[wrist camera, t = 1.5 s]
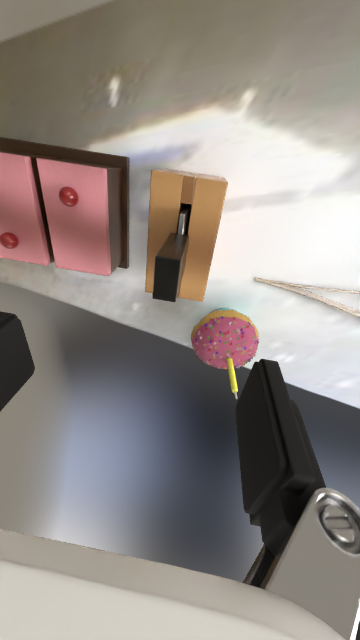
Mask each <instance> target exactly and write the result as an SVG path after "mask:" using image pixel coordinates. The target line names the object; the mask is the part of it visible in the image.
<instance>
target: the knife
mask: <svg viewBox="0 0 360 640" xmlns="http://www.w3.org/2000/svg"><path fill="white" fill-rule="evenodd" d="M191 207H192V204H187V205H186V206H185V208H184V209H183V211H182V212H181V214H180V218H179V227H178V234H176V233H170V235H169V236H168V238H167V239H166V241H165V242H164V244H163V245H162V247H161V249H160V250H159V252H158V253H157V255H156V256H155V268H154V283H153V299H159V300H165V301H170V302H175V301H176V298H177V295H178V291H179V288H180V284H181V281H182V277H183V274H184V270H185V264H186V257H187V250H188V243H189V236H188V229H189V222H190V215H191Z"/></svg>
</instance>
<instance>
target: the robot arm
mask: <svg viewBox="0 0 360 640" xmlns="http://www.w3.org/2000/svg"><path fill="white" fill-rule="evenodd" d="M34 370H35V367H34V363H33V360H32V356H31V353H30V350H29V347H28V343H27V340H26V337H25V333H24V330H23V327H22V324H21V321H20V320H19V319H18V317H17V316H16V315H15V314H11V313H5V312H0V411H1V410H2V409H3V408H4V407H5V405H6V404H7V403H8V402H9V401H10V400H11V398H12V397H13V396H14V395H15V394H16V393H17V392H18V391H19V390H20V388H21V387H22V386H23V385H24V384H25V383H26V382H27V380H28V379H29V378H30V377H31V376H32V375H33V373H34ZM236 423H237V436H238V446H239V459H240V470H241V482H242V493H243V504H244V510H245V512H246V513H248V514H249V515H250V524H251V525H256V526H261V534H262V541H263V542H264V545H263V547H262V549H261V550H260V552H259V554H258V556H257V557H256V559H255V561H254V563H253V564H252V566H251V568H250V570H249V571H248V573H247V575H246V577H245V579H244V580H243V582H242V583H241V582H237V581H234V580H231V579H227V578H223V577H218V576H214V575H210V574H205V573H202V572H197V571H193V570H189V569H184V568H180V567H177V566H172V565H168V564H163V563H159V562H154V561H149V560H145V559H140V558H135V557H131V556H126V555H121V554H117V553H112V552H107V551H103V550H99V549H94V548H89V547H84V546H79V545H75V544H71V543H66V542H61V541H56V540H51V539H46V538H42V537H37V536H33V535H28V534H23V533H19V532H14V531H9V530H4V529H0V640H360V509H359V508H358V507H357V506H356V505H355V504H354V503H353V502H352V501H351V500H350V499H349V498H348V497H346V496H345V495H343V494H342V493H340V492H338V491H336V490H333V489H331V488H326V485H325V483H324V480H323V477H322V474H321V471H320V468H319V465H318V463H317V460H316V457H315V454H314V451H313V448H312V446H311V443H310V440H309V437H308V434H307V432H306V429H305V425H304V423H303V420H302V417H301V414H300V412H299V408H298V406H297V404H296V402H295V401H294V400H291V399H290V398H289V394H288V391H287V388H286V385H285V382H284V379H283V376H282V373H281V370H280V367H279V364H278V362H277V361H271V360H266V359H261V360H260V361H259V362H255V363H254V365H253V367H252V370H251V372H250V374H249V377H248V379H247V382H246V384H245V386H244V389H243V391H242V393H241V396H240V398H239V400H238V403H237V405H236Z"/></svg>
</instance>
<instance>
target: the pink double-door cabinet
mask: <svg viewBox="0 0 360 640" xmlns="http://www.w3.org/2000/svg"><path fill="white" fill-rule="evenodd" d="M0 258H6V259H11V260H17V261H23V262H29V263H35V264H41V265H49V264H50V263H52V262H54V261H55V265H56V267H57V268H63V269H69V270H75V271H81V272H87V273H93V274H98V275H104V276H109V275H110V274H111V273H112V272H113V271H114V270H115V269H116V268H117V267H120V268H126V269H127V268H128V267H129V157H124V156H117V155H111V154H105V153H98V152H92V151H85V150H79V149H72V148H66V147H59V146H53V145H46V144H40V143H34V142H27V141H21V140H14V139H8V138H1V137H0Z"/></svg>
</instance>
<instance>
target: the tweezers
mask: <svg viewBox="0 0 360 640" xmlns="http://www.w3.org/2000/svg"><path fill="white" fill-rule="evenodd" d="M255 280H256V281H260V282H263V283H267V284H270V285H274V286H277V287H280V288H284V289H287V290H290V291H293V292H296V293H299V294H302V295H304V296H307V297H310V298H313V299H316V300H318V301H321V302H324V303H326V304H328V305H331V306H333V307H336V308H338V309H340V310H343V311H345V312H348V313H350V314H352V315H355V316H358V317H360V311H358V310H356V309H353V308H350V307H348V306H345V305H342V304H340V303H337V302H335V301H332V300H330V299H327V298H325V297H322V296H320V295H317V294H315V293H312V292H309V291H307V290H304V289H301V288H308V289H317V290H325V291H333V292H344V293H354V294H360V291H351V290H342V289H331V288H320V287H311V286H303V285H297V284H290V283H284V282H277V281H271V280H266V279H260V278H255ZM297 287H299V288H297Z"/></svg>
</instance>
